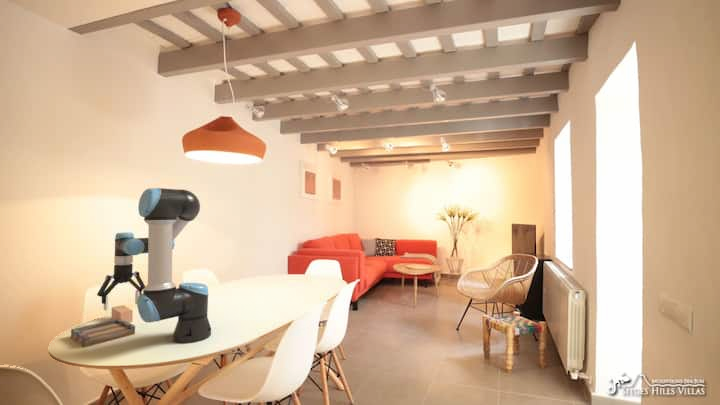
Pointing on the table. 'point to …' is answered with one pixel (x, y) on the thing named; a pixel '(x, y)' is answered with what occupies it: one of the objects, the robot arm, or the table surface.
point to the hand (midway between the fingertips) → (121, 306)
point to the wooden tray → (102, 332)
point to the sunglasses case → (122, 313)
